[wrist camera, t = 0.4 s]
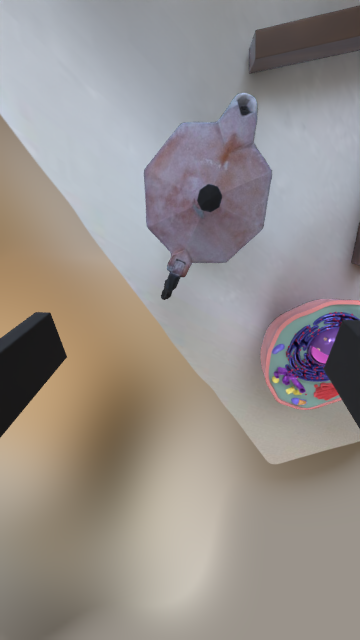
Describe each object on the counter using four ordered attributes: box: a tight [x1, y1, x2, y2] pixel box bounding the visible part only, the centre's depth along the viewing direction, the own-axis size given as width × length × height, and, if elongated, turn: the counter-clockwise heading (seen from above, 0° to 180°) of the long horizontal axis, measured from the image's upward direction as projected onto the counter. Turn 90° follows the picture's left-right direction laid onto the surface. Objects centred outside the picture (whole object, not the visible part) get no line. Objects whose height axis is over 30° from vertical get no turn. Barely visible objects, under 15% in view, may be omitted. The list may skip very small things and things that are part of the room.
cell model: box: [260, 299, 360, 410], centre depth 35 cm, size 17×20×11 cm
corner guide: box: [249, 6, 360, 266], centre depth 27 cm, size 26×17×3 cm, turn 8°
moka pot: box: [144, 93, 272, 300], centre depth 23 cm, size 10×15×20 cm, turn 161°
